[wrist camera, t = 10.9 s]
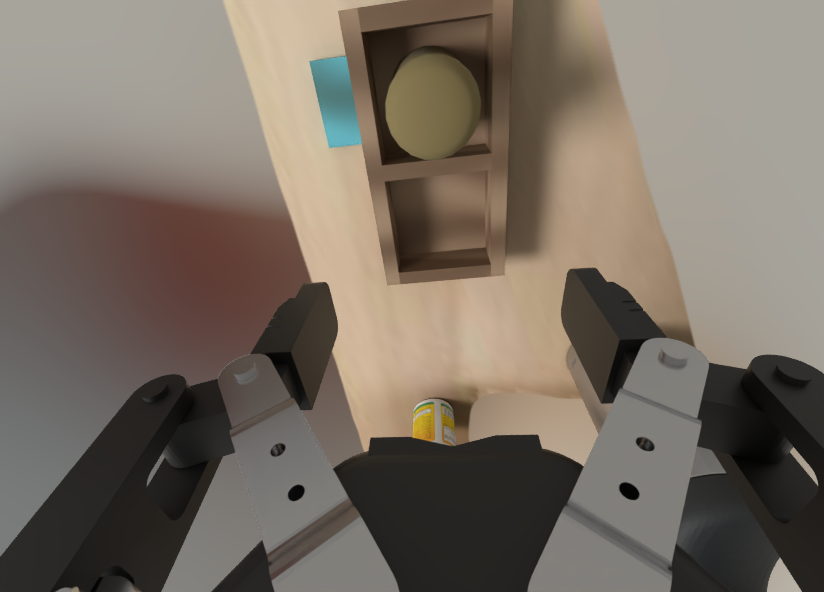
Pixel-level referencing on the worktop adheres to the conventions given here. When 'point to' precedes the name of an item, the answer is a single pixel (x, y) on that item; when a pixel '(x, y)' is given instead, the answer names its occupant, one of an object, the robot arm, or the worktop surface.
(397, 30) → the wooden divided tray
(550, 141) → the worktop surface
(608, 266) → the worktop surface
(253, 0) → the worktop surface
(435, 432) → the supplement bottle
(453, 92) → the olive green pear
